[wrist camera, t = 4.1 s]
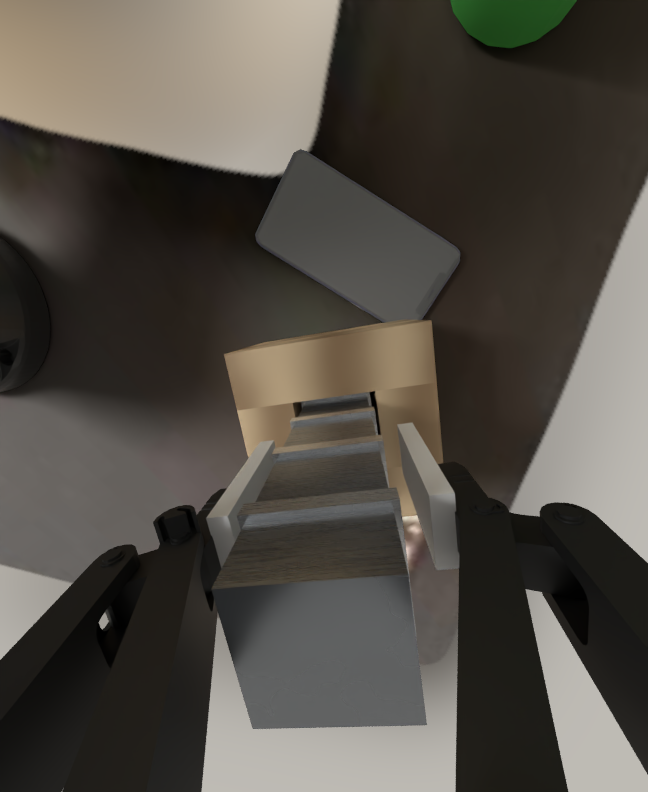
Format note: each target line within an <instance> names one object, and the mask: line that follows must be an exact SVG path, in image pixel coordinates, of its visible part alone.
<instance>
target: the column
mask: <svg viewBox="0 0 648 792" xmlns="http://www.w3.org/2000/svg"><path fill="white" fill-rule="evenodd" d="M301 404H302V411H301V412H300V414H299V416H298V417H296V418H292V419H291V420H290V425H291V432H290V434H289V436H288V438H287V440H286V442H285V444H284V446H283V447H280V448H275V449H274V451H273V452H272V459H273V463H274V466H273V468H272V470H271V472H270V474H269V476H268V478H267V480H266V482H265V484H264V486H263V488H262V490H261V492H260V494H259V496H258V498H257V500H256V502H253V503H244V504H243V506H242V507H241V509H240V511H239V513H238V515H237V519H238V523H239V527H240V533H239V535H238V537H237V539H236V541H235V543H234V545H233V547H232V549H231V551H230V553H229V555H228V557H227V559H226V561H225V563H224V565H223V567H222V569H221V571H220V573H219V575H218V577H217V579H216V581H215V583H214V585H213V587H212V589H211V590H212V593H213V597H214V600H215V603H216V607H217V610H218V613H219V617H220V620H221V623H222V627H223V630H224V633H225V637H226V640H227V643H228V647H229V650H230V653H231V657H232V660H233V664H234V667H235V671H236V674H237V677H238V681H239V684H240V687H241V691H242V694H243V697H244V701H245V704H246V707H247V711H248V714H249V718H250V721H251V724H252V728H253V729H266V728H267V729H268V728H269V729H270V728H312V727H313V728H316V727H360V726H361V727H362V726H406V725H427V723H426V715H425V707H424V698H423V690H422V681H421V675H420V665H419V657H418V648H417V640H416V629H415V621H414V612H413V604H412V596H411V588H410V579H409V571H408V563H407V554H406V546H405V538H404V530H403V521H402V513H401V505H400V498H399V495H398V491H397V488H396V487H394V488H389V481H388V473H387V466H386V458H385V450H384V442H383V438H382V435H378V431H377V423H376V415H375V409H374V407H372V406H371V398H370V392H365V393H358V394H351V395H344V396H337V397H330V398H323V399H316V400H308V401H301Z"/></svg>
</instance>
